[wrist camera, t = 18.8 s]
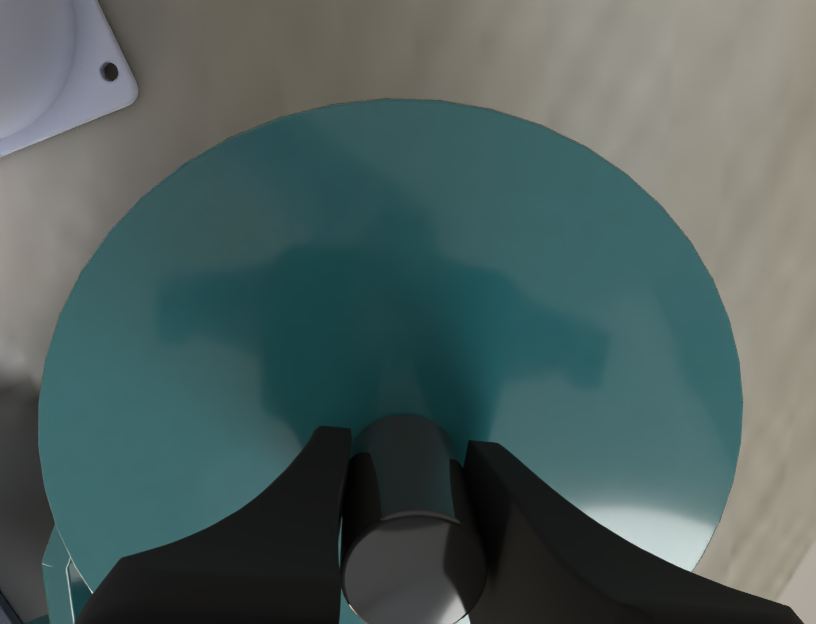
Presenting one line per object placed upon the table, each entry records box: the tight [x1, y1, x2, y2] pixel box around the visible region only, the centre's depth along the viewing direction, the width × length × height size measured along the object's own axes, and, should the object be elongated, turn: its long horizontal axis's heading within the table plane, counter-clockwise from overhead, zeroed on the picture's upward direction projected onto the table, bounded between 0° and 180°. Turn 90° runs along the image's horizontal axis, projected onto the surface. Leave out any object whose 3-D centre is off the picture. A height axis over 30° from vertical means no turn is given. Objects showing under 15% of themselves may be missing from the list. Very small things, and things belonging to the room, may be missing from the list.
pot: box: [23, 524, 92, 624], centre depth 23 cm, size 14×19×4 cm
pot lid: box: [38, 98, 743, 624], centre depth 13 cm, size 15×15×5 cm
